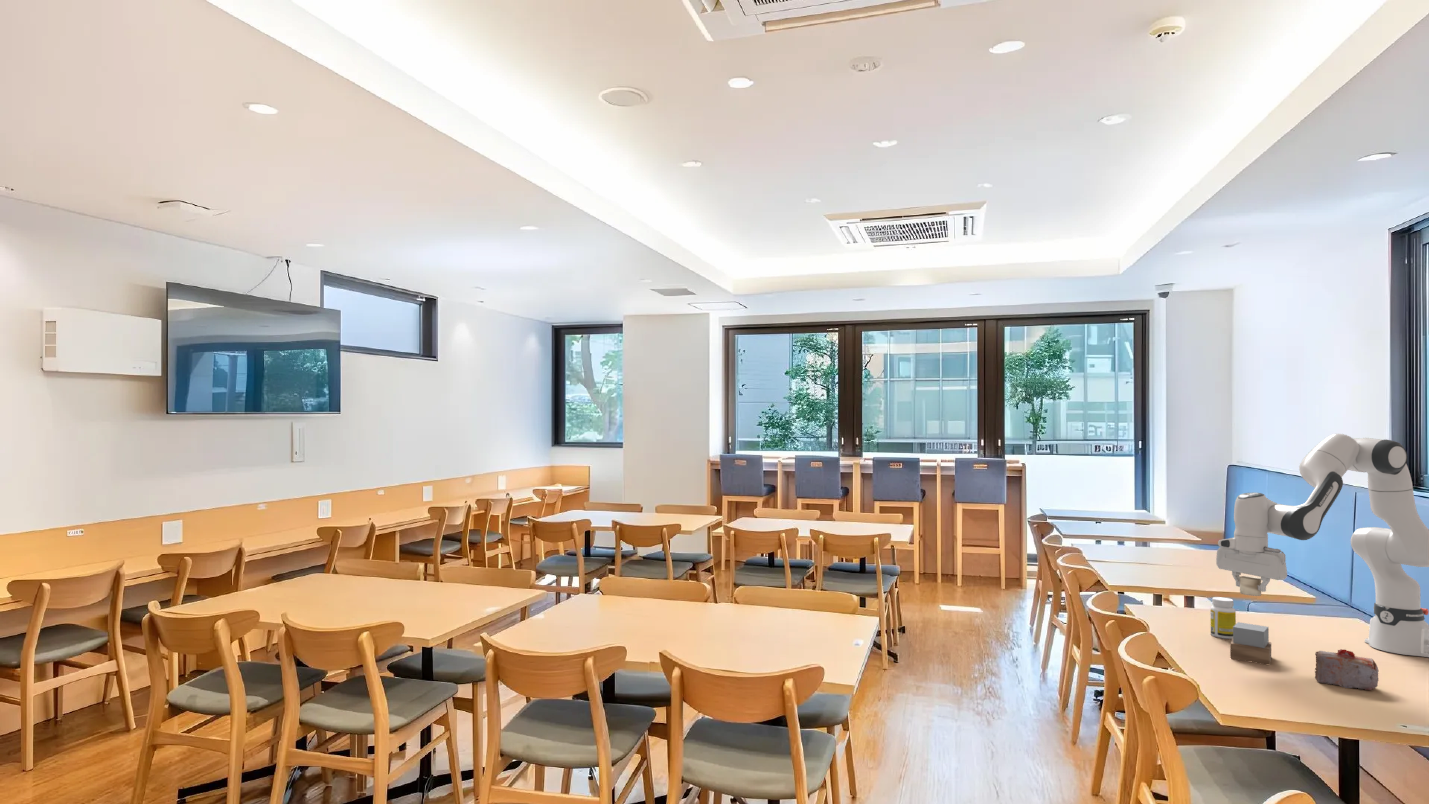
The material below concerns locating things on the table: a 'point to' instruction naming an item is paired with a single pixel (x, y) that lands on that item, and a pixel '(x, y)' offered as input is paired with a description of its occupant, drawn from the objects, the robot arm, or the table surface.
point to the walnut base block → (1250, 653)
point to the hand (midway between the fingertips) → (1250, 588)
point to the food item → (1346, 670)
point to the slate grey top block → (1251, 635)
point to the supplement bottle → (1222, 617)
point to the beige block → (1250, 585)
